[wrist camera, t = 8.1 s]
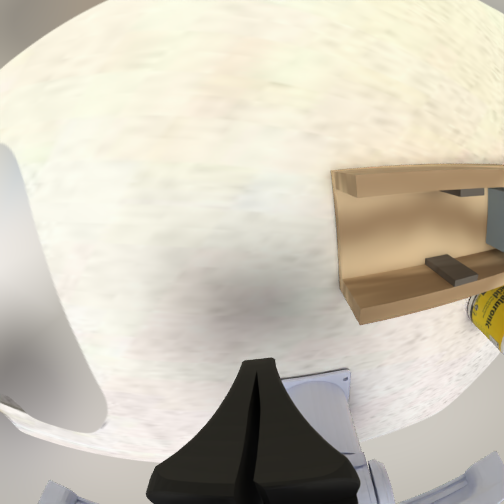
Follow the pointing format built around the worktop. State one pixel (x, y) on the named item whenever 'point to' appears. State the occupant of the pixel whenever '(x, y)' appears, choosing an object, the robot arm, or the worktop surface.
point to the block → (495, 218)
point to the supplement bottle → (489, 315)
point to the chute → (414, 236)
